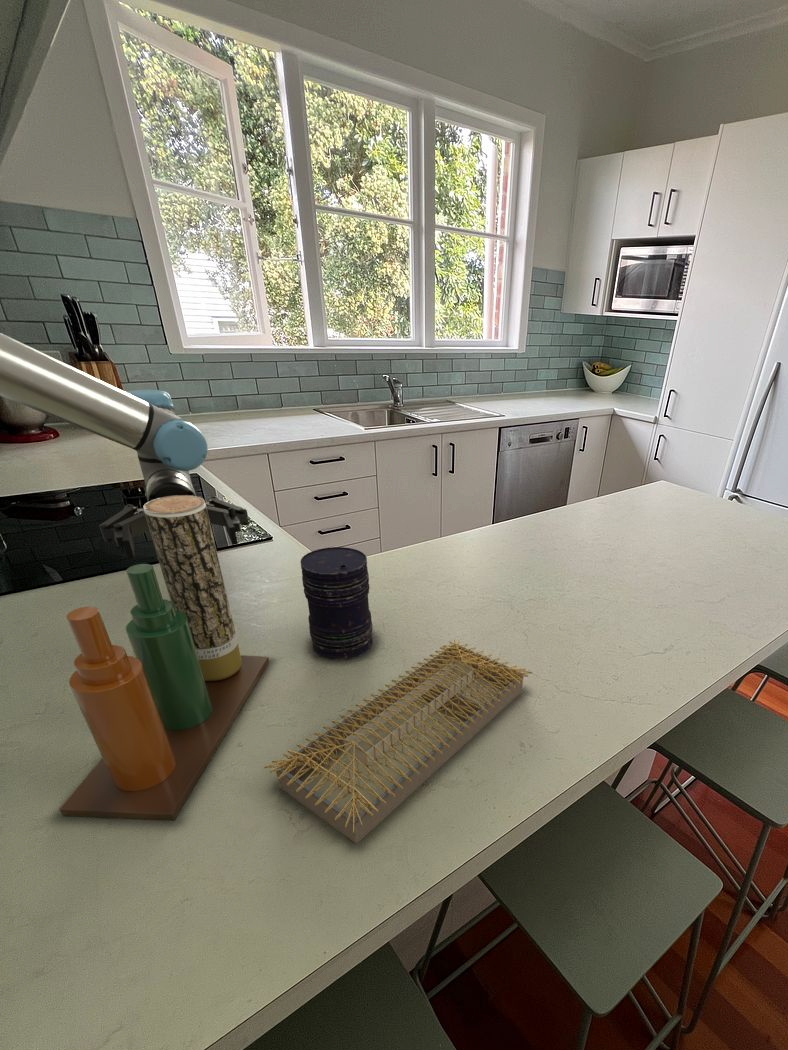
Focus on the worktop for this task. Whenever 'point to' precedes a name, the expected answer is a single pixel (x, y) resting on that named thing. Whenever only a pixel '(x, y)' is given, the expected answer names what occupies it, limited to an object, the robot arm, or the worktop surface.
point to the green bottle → (166, 653)
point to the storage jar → (338, 602)
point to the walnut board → (190, 754)
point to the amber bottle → (118, 706)
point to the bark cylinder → (195, 579)
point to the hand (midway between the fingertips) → (183, 542)
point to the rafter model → (399, 735)
